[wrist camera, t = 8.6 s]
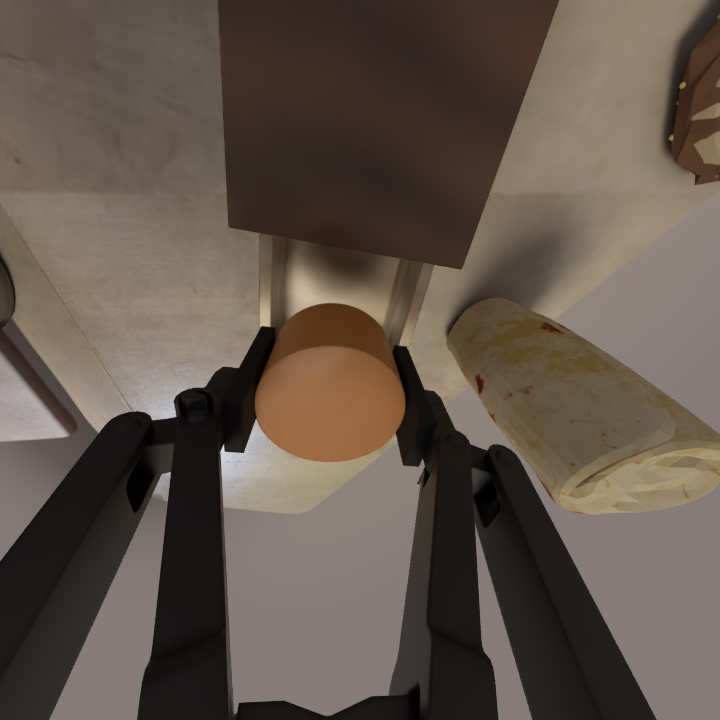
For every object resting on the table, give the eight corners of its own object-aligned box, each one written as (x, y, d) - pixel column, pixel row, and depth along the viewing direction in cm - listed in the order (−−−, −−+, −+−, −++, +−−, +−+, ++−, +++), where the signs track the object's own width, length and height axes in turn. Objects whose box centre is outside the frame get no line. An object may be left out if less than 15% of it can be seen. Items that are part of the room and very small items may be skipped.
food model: (445, 361, 33) (560, 550, 16) (434, 310, 30) (565, 483, 13) (531, 333, 32) (752, 506, 15) (530, 277, 28) (816, 419, 12)
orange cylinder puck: (272, 395, 19) (253, 456, 15) (277, 292, 15) (253, 334, 11) (376, 406, 20) (386, 467, 16) (402, 313, 16) (425, 357, 12)
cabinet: (422, 241, 26) (461, 269, 18) (265, 211, 24) (228, 227, 16) (502, -48, 17) (651, -253, 9) (270, -134, 15) (193, -500, 7)
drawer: (378, 390, 33) (388, 442, 27) (267, 379, 32) (248, 432, 25) (430, 199, 23) (467, 206, 17) (272, 164, 21) (243, 157, 15)
